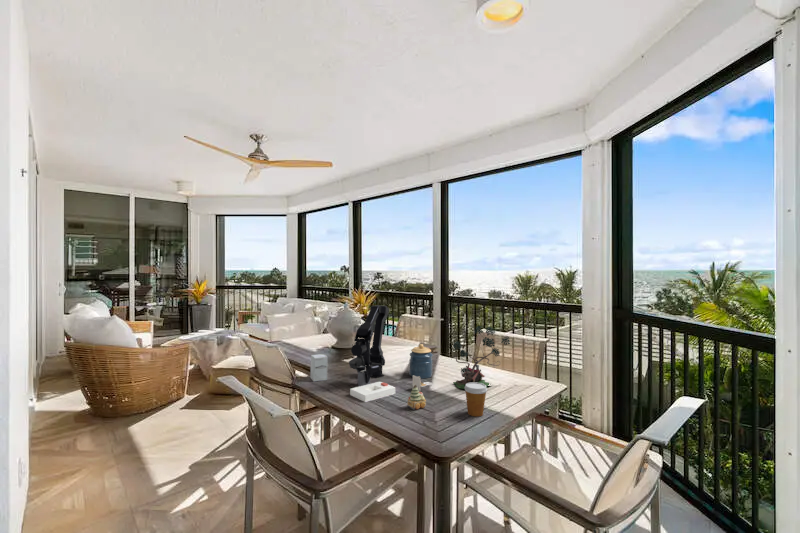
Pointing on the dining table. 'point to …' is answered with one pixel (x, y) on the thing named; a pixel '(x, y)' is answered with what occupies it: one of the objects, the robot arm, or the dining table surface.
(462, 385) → the bonsai tree
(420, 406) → the ornament
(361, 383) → the plug
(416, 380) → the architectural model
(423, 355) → the canister
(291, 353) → the dining table surface
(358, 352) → the robot arm
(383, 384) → the socket
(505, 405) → the dining table surface
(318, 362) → the supplement box
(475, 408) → the disposable coffee cup
